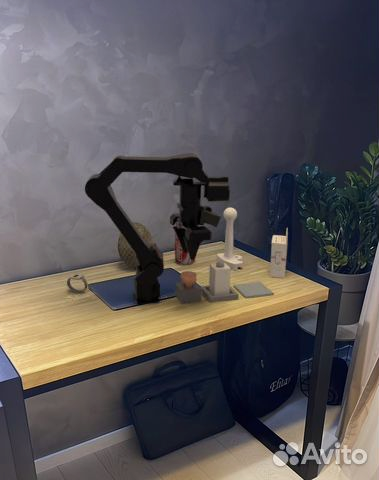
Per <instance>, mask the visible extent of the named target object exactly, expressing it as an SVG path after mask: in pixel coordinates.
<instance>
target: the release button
mask: <svg viewBox="0 0 379 480" xmlns="http://www.w3.org/2000/svg"><path fill="white" fill-rule="evenodd" d="M181 282H182V283H185V288H190V287H192V283H195V282H196V283H197V272H195V271H190V270H189V271H188V270H186V271H182V272H181V273H180V283H181Z"/></svg>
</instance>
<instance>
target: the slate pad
mask: <svg viewBox="0 0 379 480" xmlns="http://www.w3.org/2000/svg"><path fill="white" fill-rule="evenodd" d="M232 288H233V289H234V290H235V291H236V292H237V291H238V292H237V293H238V294H241V296H242V297H243V298H244V299H253V298H261V297H267V296H274V294H275V293H274V292H273V291H272V290H271V289H270V288H268V287H267V286H266V285H265V284H264V283H262V282H261V281H254V282H246V283H238V284H233V287H232Z"/></svg>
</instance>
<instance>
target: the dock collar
mask: <svg viewBox="0 0 379 480" xmlns="http://www.w3.org/2000/svg"><path fill="white" fill-rule="evenodd" d="M199 286H200V287H201V288H202V296H204V297H205V298H206V299H207V301H208V302H209V303H218V302H226V301H235V300H236V301H237V300H239V298H240V297H239V295H240V293H239V292H237V290H236V289H235V288H234V287H232V286H231V285H230V294H225V295H217V296H212V295H211V294H210V293H209V284H208V285H199Z"/></svg>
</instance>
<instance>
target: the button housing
mask: <svg viewBox="0 0 379 480" xmlns="http://www.w3.org/2000/svg"><path fill="white" fill-rule="evenodd" d="M174 284H175V285H174V294H175V295H174V297H175V298H176V299H177V300H178V302H179V303H180V304H181V305H187V304H195V303H201V302H202V301H203V294H202V288H201V287H200V286H201V285H199V284H198V283H197V281H196V282H195V283H192V287H190V288H185V283H182V282H181V281H180V282H175V283H174Z"/></svg>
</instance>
